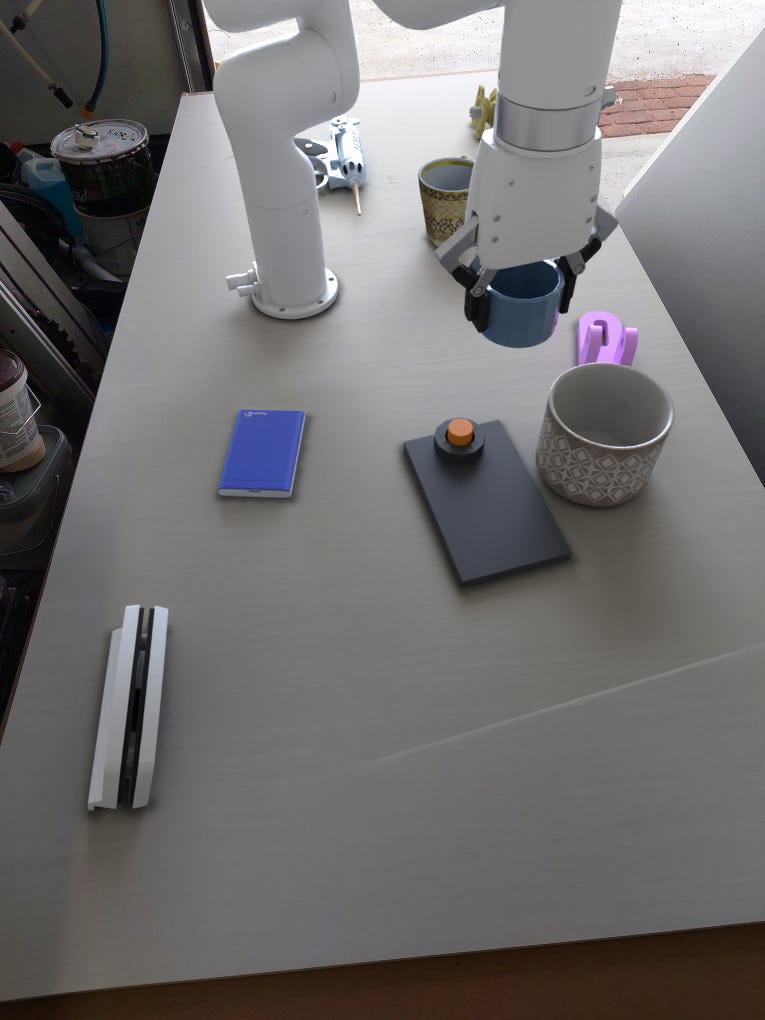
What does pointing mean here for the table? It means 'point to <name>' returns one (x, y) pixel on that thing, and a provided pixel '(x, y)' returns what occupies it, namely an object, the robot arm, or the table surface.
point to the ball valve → (483, 110)
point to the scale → (485, 504)
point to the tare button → (460, 432)
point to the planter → (603, 433)
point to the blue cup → (524, 304)
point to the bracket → (617, 340)
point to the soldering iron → (338, 157)
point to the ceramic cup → (444, 195)
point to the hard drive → (263, 454)
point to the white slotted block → (130, 710)
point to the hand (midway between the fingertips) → (517, 313)
